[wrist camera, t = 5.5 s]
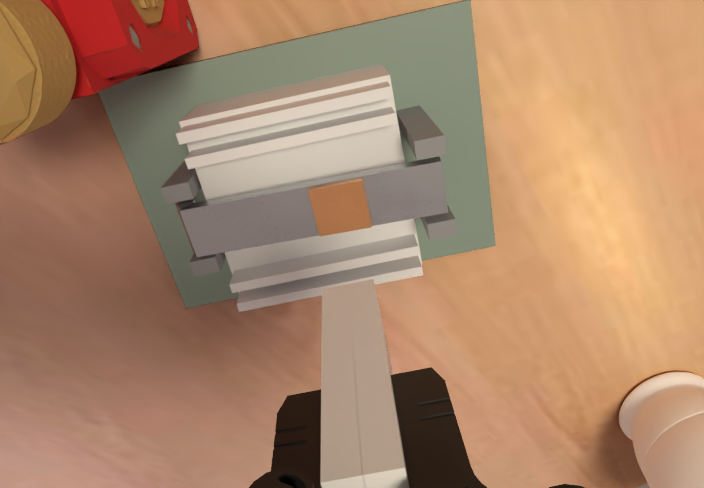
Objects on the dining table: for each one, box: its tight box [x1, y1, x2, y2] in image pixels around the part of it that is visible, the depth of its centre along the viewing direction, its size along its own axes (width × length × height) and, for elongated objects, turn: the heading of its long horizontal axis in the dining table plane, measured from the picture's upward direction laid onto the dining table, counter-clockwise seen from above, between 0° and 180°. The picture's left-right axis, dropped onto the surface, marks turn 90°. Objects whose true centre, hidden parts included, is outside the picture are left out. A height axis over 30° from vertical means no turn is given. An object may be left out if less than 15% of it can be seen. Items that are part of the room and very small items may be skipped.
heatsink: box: [98, 0, 495, 312], centre depth 33 cm, size 24×17×9 cm
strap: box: [175, 156, 448, 257], centre depth 30 cm, size 15×3×2 cm, turn 102°
